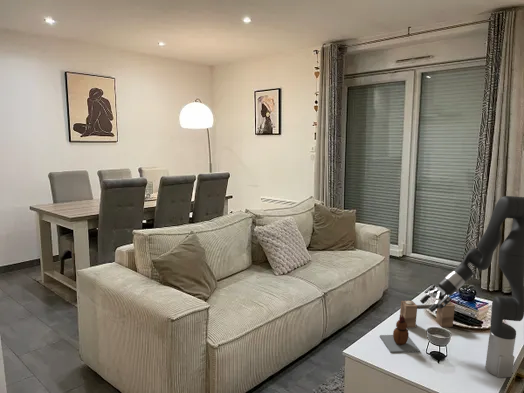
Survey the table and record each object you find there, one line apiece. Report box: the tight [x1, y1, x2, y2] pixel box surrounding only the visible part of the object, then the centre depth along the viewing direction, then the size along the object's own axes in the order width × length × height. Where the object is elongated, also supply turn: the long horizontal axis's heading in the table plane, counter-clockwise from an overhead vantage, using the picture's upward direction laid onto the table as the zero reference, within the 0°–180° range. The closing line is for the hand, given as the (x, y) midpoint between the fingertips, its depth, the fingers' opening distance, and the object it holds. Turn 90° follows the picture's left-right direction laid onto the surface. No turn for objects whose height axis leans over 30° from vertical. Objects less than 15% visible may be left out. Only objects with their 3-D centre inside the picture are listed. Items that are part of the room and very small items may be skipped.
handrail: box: [399, 300, 456, 329], centre depth 204 cm, size 6×26×13 cm, turn 94°
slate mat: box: [379, 334, 421, 354], centre depth 186 cm, size 14×14×1 cm
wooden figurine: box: [392, 314, 410, 345], centre depth 184 cm, size 7×6×15 cm
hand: (425, 306), depth 183 cm, fingers open, 8 cm apart
